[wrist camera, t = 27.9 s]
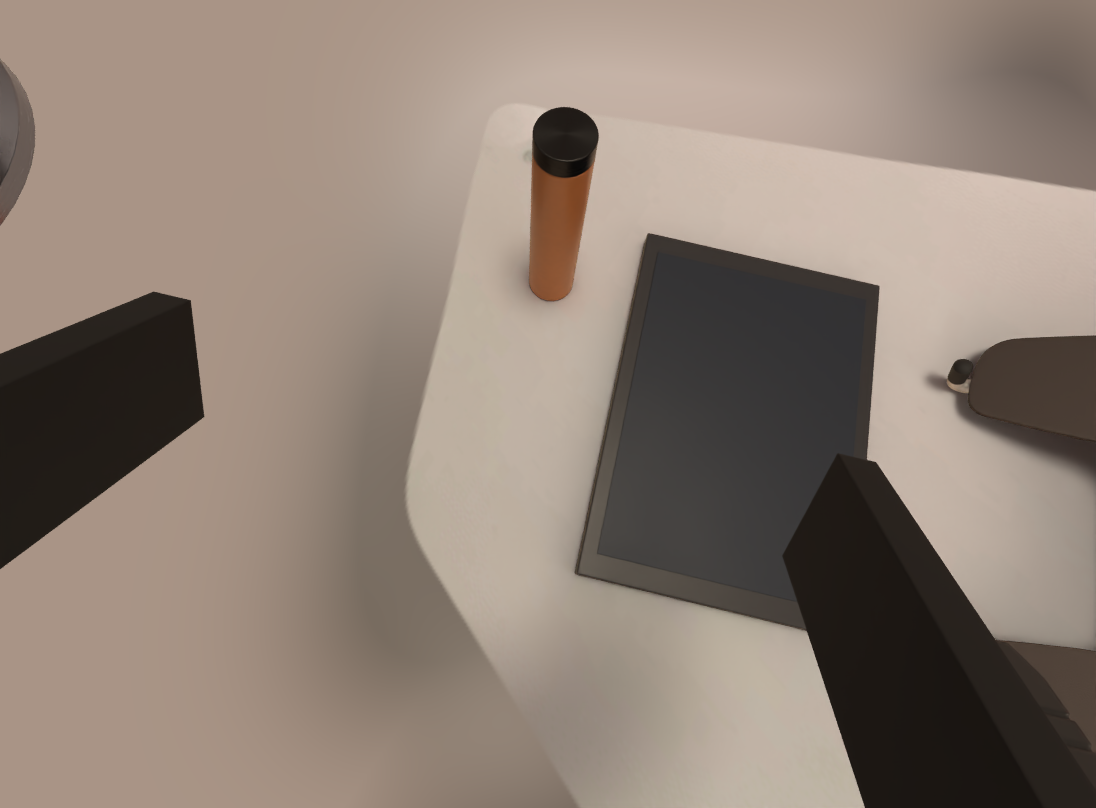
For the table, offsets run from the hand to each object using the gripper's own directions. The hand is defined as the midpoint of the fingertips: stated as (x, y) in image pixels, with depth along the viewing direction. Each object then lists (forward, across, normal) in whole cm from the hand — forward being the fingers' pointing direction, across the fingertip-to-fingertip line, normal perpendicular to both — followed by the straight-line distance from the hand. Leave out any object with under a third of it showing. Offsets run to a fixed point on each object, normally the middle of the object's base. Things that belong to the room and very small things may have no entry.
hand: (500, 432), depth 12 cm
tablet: (+19, +11, -8) cm, 23 cm away
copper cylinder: (+23, -1, -4) cm, 24 cm away
